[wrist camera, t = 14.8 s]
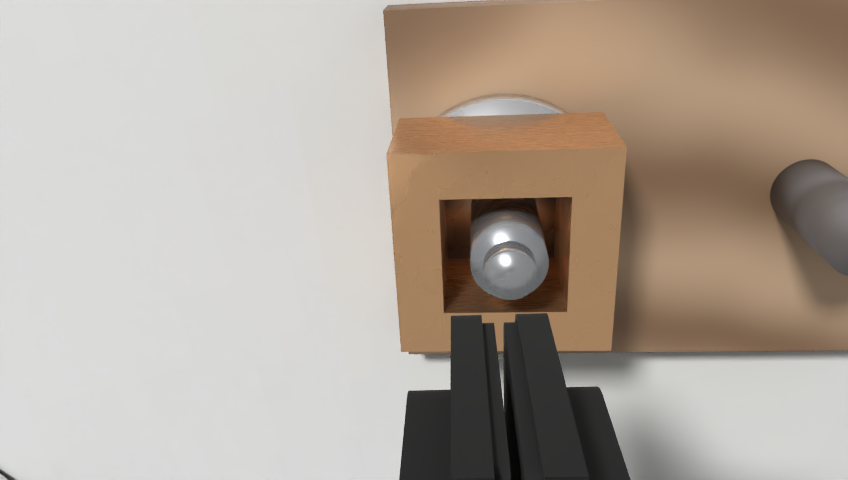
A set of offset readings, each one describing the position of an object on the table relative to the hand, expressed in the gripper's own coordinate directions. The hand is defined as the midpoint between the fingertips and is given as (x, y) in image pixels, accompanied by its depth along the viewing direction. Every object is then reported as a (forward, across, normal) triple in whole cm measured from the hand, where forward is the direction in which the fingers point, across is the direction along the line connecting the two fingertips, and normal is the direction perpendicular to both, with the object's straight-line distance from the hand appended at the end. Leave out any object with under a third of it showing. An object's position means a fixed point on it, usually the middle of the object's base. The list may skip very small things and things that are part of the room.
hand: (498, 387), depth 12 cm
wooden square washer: (+14, -1, +2) cm, 14 cm away
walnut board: (+16, -7, +2) cm, 18 cm away
